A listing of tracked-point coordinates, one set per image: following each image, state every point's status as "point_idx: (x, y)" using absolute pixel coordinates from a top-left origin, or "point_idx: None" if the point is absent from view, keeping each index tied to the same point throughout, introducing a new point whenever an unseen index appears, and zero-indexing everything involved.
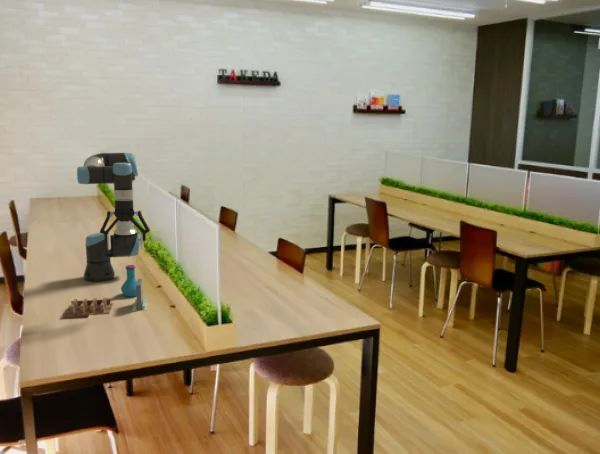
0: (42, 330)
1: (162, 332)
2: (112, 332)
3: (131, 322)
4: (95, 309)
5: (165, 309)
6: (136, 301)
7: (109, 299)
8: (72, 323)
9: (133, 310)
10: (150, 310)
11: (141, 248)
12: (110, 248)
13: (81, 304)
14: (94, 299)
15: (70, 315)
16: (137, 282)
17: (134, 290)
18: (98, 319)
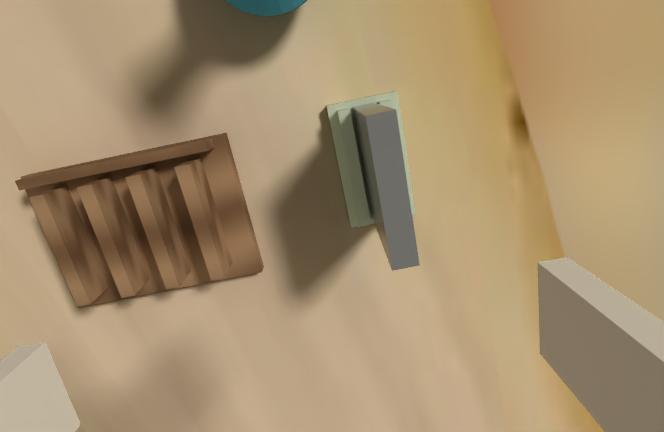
0: (83, 410)
1: (510, 405)
2: (336, 413)
3: (377, 327)
4: (178, 227)
5: (494, 170)
6: (352, 148)
7: (203, 145)
8: (152, 347)
9: (357, 224)
10: (426, 187)
11: (550, 356)
12: (50, 369)
13: (113, 273)
14: (138, 195)
15: (106, 301)
16: (384, 207)
17: (301, 3)
18: (234, 303)
